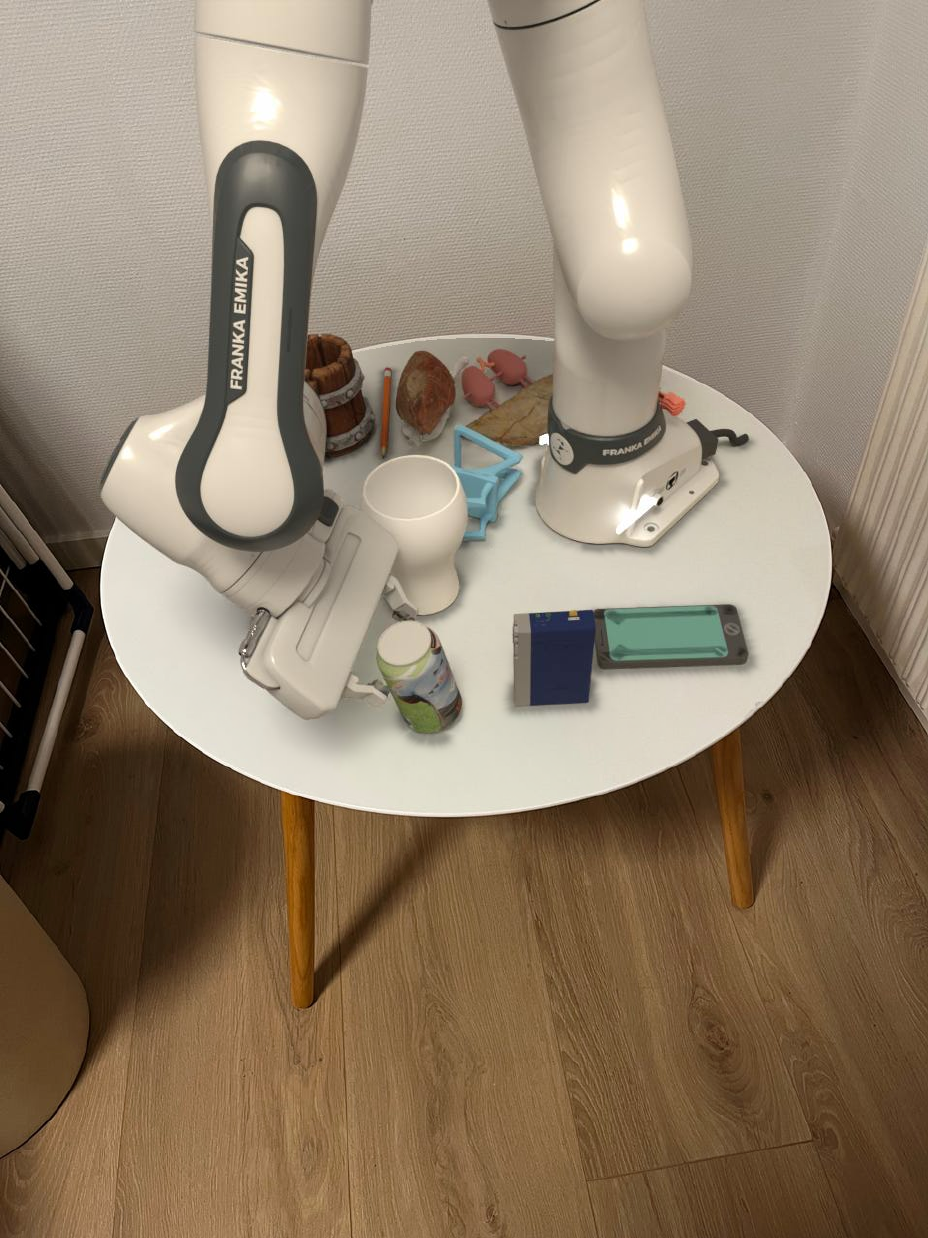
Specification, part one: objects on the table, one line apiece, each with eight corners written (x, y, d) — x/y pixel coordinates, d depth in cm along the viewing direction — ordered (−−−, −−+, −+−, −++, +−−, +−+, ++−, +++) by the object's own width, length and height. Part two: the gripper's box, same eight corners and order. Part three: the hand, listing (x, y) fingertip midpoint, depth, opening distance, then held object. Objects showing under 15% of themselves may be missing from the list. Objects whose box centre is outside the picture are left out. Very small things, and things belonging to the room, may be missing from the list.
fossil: (644, 398, 117) (642, 409, 118) (566, 359, 123) (565, 369, 124) (533, 475, 107) (533, 485, 108) (455, 427, 113) (456, 438, 115)
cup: (456, 634, 95) (446, 533, 83) (362, 615, 97) (340, 514, 86) (484, 562, 101) (479, 459, 90) (395, 546, 104) (379, 443, 92)
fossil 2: (441, 343, 116) (485, 407, 116) (392, 383, 119) (435, 446, 119) (411, 334, 104) (460, 405, 104) (357, 379, 107) (405, 449, 107)
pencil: (384, 372, 125) (391, 372, 125) (380, 461, 113) (387, 461, 113) (384, 367, 125) (390, 367, 125) (379, 456, 113) (386, 456, 113)
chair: (520, 488, 110) (488, 557, 103) (456, 472, 111) (420, 539, 104) (524, 439, 103) (490, 509, 97) (456, 423, 105) (418, 491, 98)
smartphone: (750, 657, 90) (599, 662, 90) (747, 664, 91) (598, 669, 91) (735, 601, 94) (591, 606, 95) (733, 608, 95) (591, 613, 96)
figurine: (468, 356, 120) (442, 434, 108) (471, 382, 123) (446, 461, 111) (417, 356, 122) (386, 434, 110) (421, 382, 125) (391, 460, 113)
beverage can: (470, 729, 88) (464, 654, 78) (397, 749, 86) (381, 676, 77) (452, 679, 91) (444, 602, 82) (382, 698, 90) (366, 622, 81)
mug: (381, 395, 121) (364, 307, 108) (373, 480, 114) (354, 397, 101) (295, 397, 122) (268, 310, 109) (282, 481, 115) (251, 399, 102)
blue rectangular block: (586, 683, 90) (593, 606, 81) (589, 703, 89) (597, 626, 79) (512, 687, 90) (511, 611, 81) (514, 707, 89) (513, 631, 80)
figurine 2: (538, 385, 124) (504, 347, 124) (547, 371, 121) (512, 332, 121) (477, 428, 119) (442, 388, 119) (485, 414, 116) (448, 373, 116)
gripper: (249, 653, 69) (386, 744, 74) (336, 475, 81) (448, 565, 87) (211, 677, 73) (344, 761, 79) (299, 505, 85) (408, 588, 91)
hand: (399, 657), depth 83 cm, fingers open, 8 cm apart
